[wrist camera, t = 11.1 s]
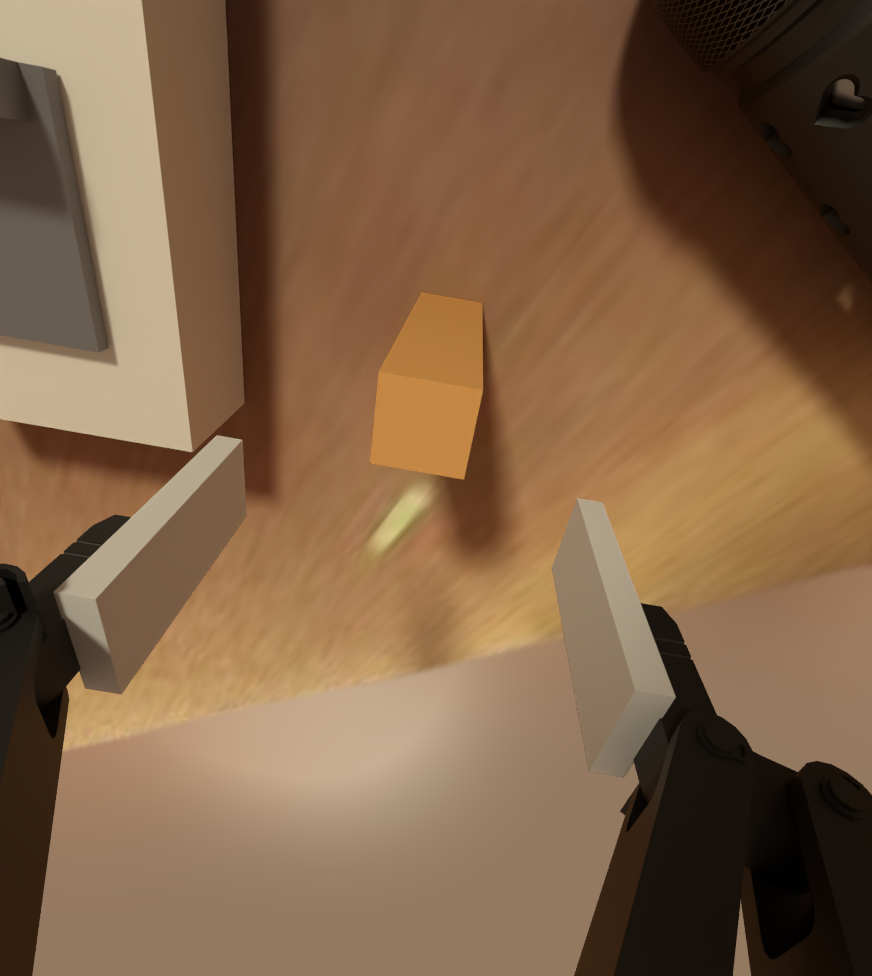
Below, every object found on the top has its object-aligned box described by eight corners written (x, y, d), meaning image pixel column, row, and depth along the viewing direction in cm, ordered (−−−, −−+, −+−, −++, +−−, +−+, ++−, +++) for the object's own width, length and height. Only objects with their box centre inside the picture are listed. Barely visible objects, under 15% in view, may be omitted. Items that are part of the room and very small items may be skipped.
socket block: (-274, -405, 21) (-643, -691, 14) (210, -310, 21) (80, -545, 14) (-23, 356, 37) (-136, 395, 31) (244, 403, 38) (192, 452, 31)
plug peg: (421, 292, 33) (378, 371, 19) (482, 303, 33) (483, 390, 19) (413, 352, 35) (369, 463, 21) (470, 362, 35) (464, 479, 21)
